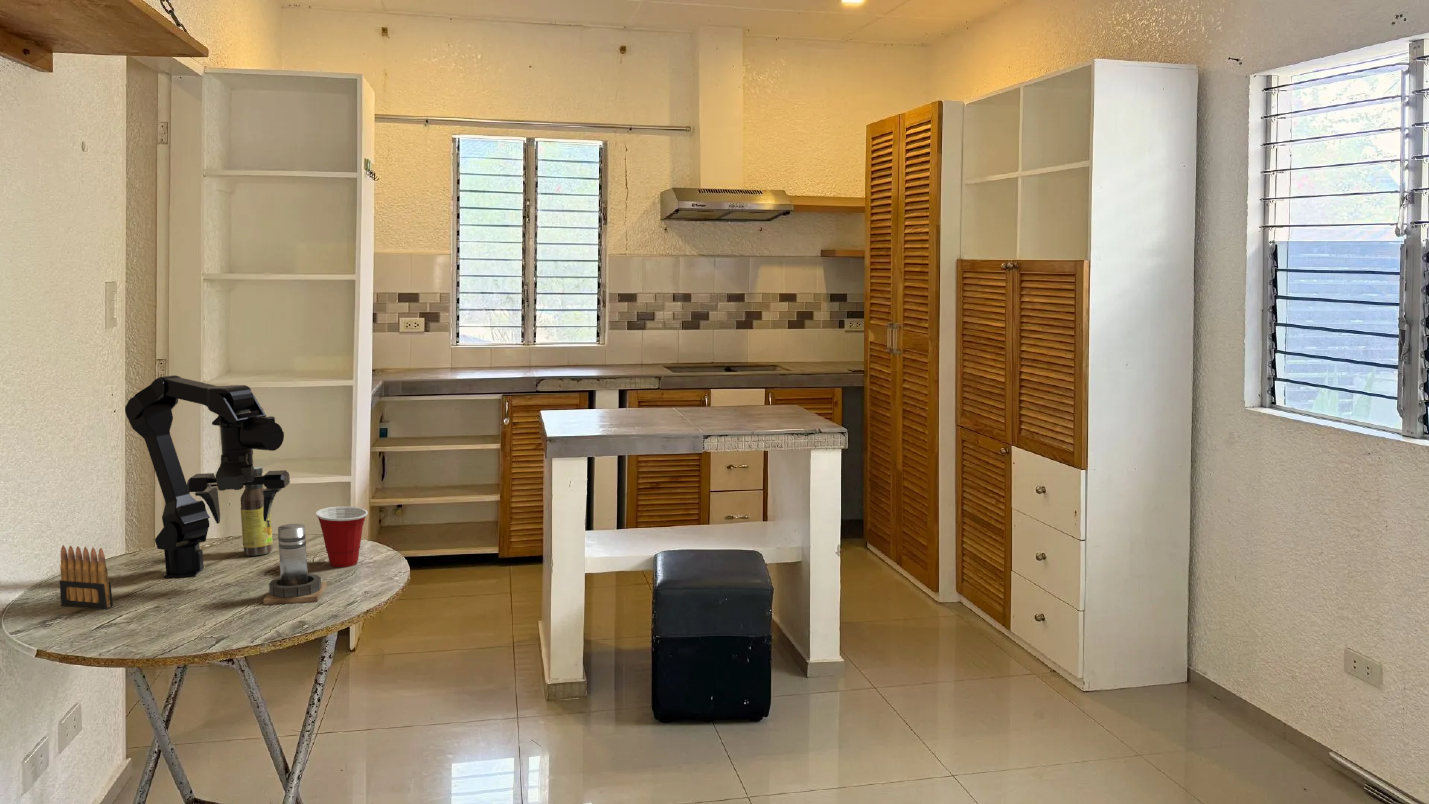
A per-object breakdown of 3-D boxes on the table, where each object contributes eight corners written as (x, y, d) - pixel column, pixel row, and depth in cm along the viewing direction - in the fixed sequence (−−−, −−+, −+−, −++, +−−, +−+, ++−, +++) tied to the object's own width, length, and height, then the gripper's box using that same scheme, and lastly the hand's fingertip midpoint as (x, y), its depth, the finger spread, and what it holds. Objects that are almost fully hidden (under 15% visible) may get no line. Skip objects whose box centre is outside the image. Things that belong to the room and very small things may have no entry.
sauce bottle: (275, 554, 251) (269, 468, 248) (245, 558, 248) (239, 471, 245) (271, 548, 256) (265, 463, 254) (242, 551, 253) (236, 466, 251)
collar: (263, 604, 215) (262, 589, 215) (275, 589, 225) (274, 574, 224) (317, 601, 217) (316, 586, 216) (326, 586, 226) (325, 572, 226)
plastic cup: (354, 572, 236) (351, 517, 235) (308, 569, 238) (305, 515, 237) (379, 558, 247) (377, 506, 245) (335, 556, 249) (332, 504, 247)
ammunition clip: (60, 605, 215) (55, 546, 214) (68, 602, 217) (62, 543, 215) (106, 609, 213) (100, 549, 211) (113, 606, 214) (108, 546, 213)
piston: (283, 595, 217) (279, 531, 215) (280, 588, 222) (276, 525, 220) (310, 591, 220) (306, 528, 217) (306, 584, 224) (302, 522, 222)
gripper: (175, 456, 216) (181, 534, 218) (276, 452, 219) (280, 529, 221) (192, 446, 227) (198, 520, 229) (287, 443, 230) (292, 516, 232)
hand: (242, 522), depth 227 cm, fingers open, 9 cm apart
